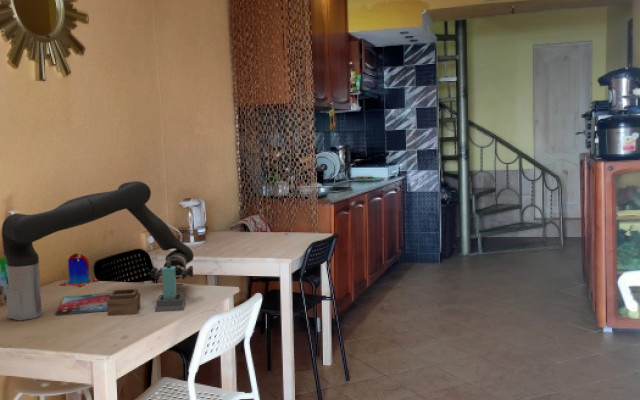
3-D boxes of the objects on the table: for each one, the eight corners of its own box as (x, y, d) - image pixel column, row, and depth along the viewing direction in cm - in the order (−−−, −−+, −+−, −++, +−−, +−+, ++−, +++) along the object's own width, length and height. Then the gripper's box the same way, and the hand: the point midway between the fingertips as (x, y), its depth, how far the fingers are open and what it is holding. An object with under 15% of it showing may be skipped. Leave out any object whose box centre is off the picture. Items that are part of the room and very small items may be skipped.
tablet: (119, 294, 235) (118, 292, 235) (116, 312, 211) (116, 309, 211) (63, 298, 230) (63, 296, 230) (54, 317, 206) (54, 314, 206)
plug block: (175, 304, 213) (173, 261, 211) (163, 304, 212) (161, 262, 211) (176, 301, 217) (175, 259, 215) (164, 301, 216) (163, 259, 215)
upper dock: (136, 313, 207) (135, 295, 207) (107, 315, 206) (106, 296, 206) (140, 306, 216) (139, 288, 216) (113, 307, 215) (112, 289, 214)
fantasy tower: (101, 280, 256) (100, 251, 254) (82, 287, 244) (81, 256, 243) (76, 279, 259) (74, 250, 258) (56, 286, 248) (55, 255, 246)
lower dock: (183, 310, 211) (182, 300, 210) (155, 311, 210) (154, 301, 209) (185, 303, 220) (184, 293, 219) (158, 304, 219) (158, 294, 218)
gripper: (154, 257, 230) (148, 266, 214) (194, 255, 232) (191, 265, 216) (155, 277, 231) (149, 288, 215) (195, 276, 232) (192, 286, 216)
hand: (170, 276), depth 215 cm, fingers open, 8 cm apart
